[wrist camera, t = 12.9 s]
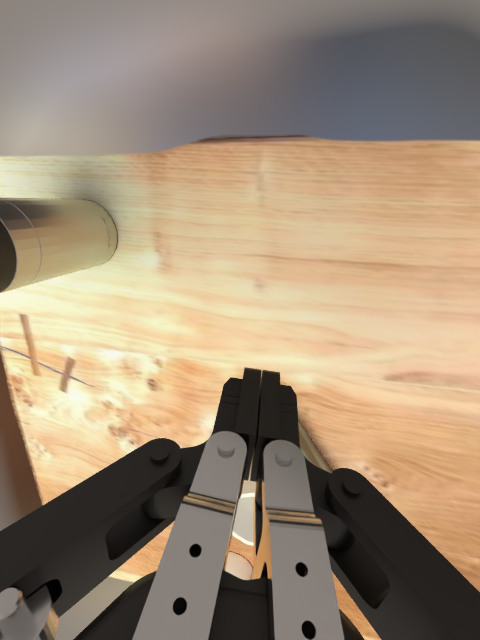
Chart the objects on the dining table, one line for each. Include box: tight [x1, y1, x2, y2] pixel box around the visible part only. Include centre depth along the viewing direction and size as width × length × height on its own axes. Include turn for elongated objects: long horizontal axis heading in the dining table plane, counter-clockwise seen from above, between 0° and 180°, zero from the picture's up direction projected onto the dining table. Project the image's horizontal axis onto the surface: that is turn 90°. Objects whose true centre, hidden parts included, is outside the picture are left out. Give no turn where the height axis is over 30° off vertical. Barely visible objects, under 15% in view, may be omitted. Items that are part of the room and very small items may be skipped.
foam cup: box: [232, 462, 256, 546], centre depth 47 cm, size 10×9×13 cm
